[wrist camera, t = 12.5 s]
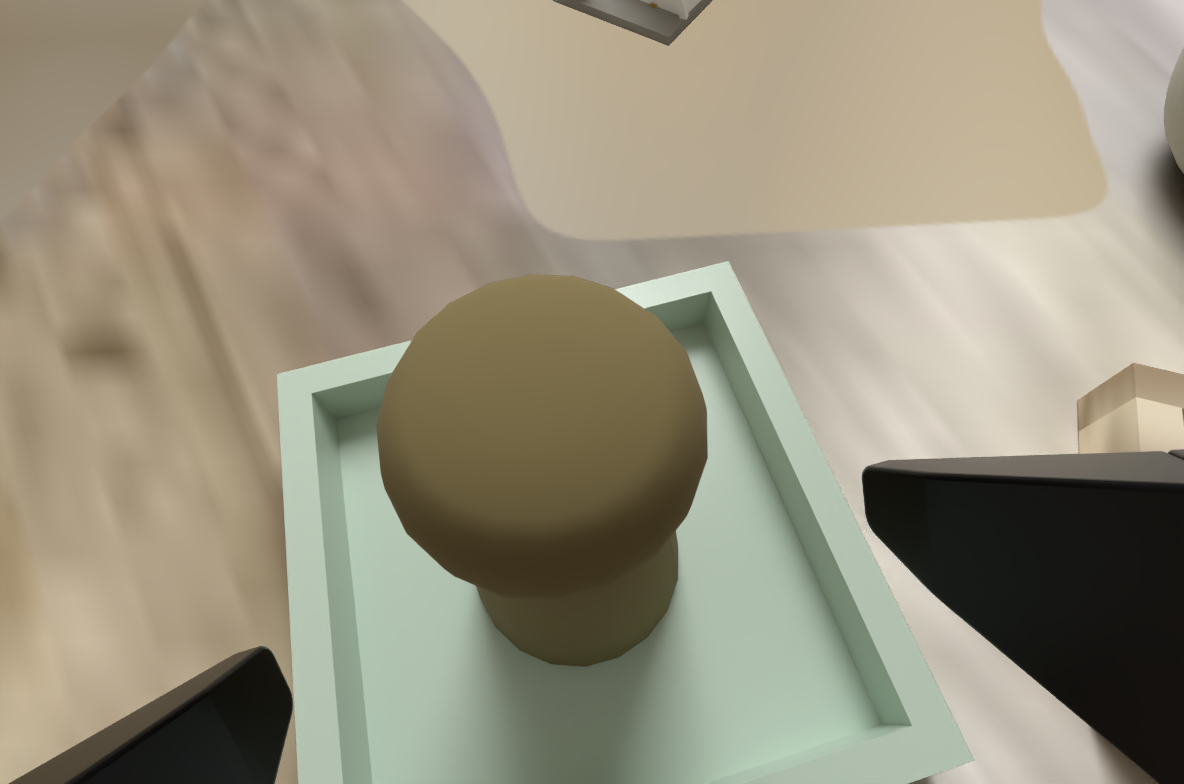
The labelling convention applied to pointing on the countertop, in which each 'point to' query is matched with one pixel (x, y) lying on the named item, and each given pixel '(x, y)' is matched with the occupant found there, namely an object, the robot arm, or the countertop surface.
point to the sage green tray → (647, 671)
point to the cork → (548, 459)
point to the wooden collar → (1133, 412)
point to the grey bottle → (1176, 112)
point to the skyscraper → (644, 15)
